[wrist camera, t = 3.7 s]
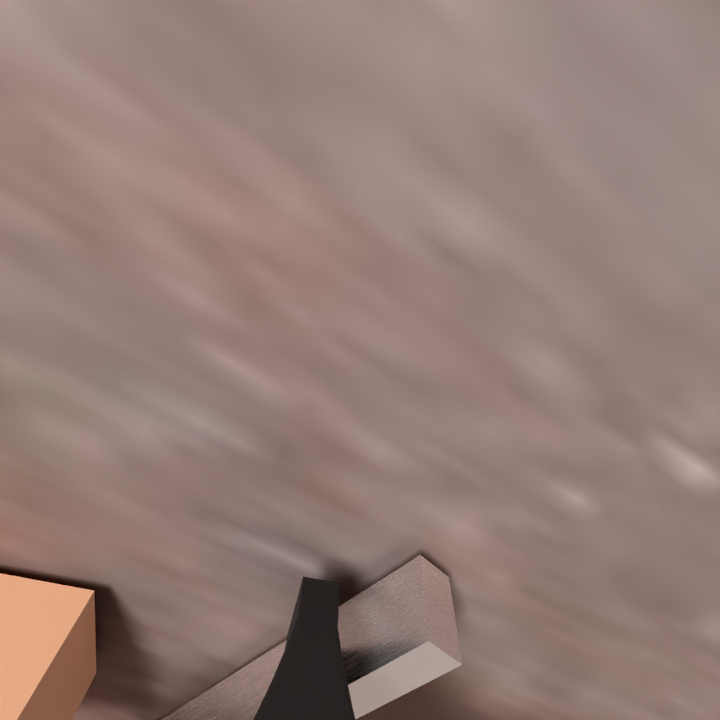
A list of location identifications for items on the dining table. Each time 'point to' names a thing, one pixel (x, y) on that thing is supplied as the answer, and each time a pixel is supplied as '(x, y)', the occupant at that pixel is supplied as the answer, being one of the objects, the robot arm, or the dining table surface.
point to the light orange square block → (45, 648)
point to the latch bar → (362, 648)
